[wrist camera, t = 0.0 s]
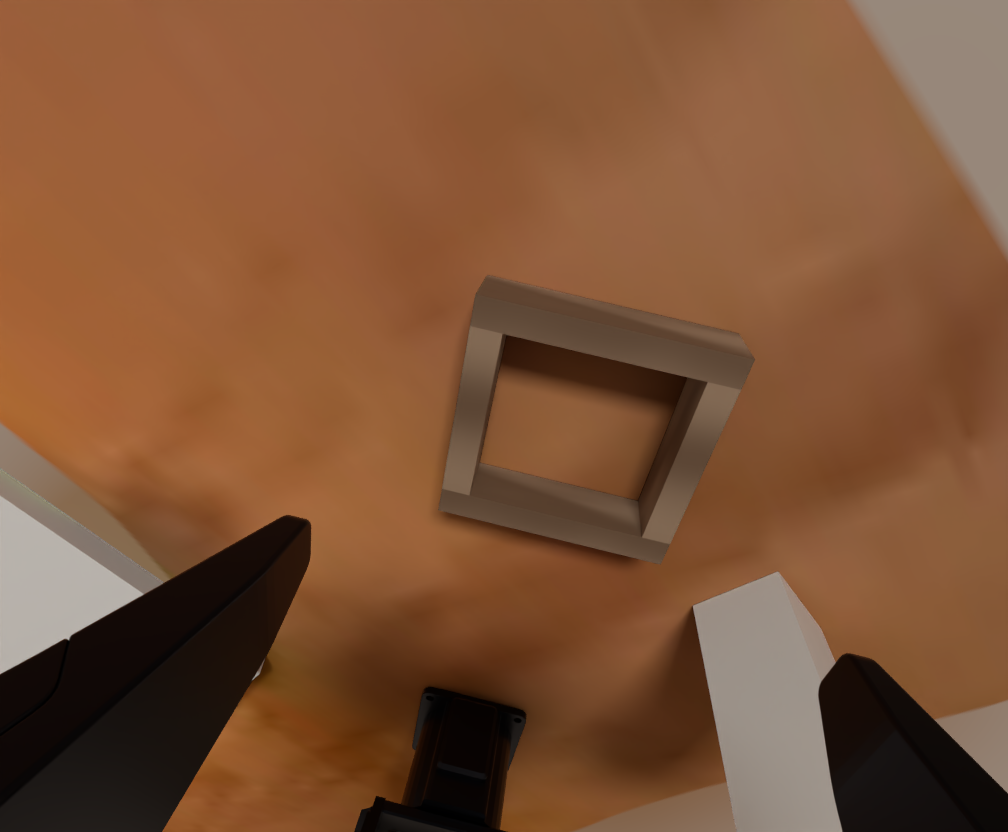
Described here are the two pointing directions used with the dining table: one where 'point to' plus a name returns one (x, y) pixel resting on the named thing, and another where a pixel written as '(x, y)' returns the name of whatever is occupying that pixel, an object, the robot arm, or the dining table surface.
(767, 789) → the clay block
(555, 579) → the dining table surface
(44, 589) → the decorative molding
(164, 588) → the robot arm
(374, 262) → the dining table surface
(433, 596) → the dining table surface
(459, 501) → the rectangular frame
